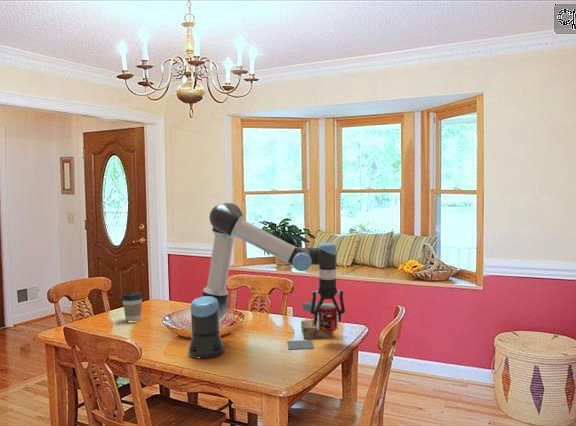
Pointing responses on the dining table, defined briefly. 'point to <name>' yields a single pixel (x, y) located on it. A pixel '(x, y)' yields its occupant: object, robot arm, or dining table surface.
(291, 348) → the rubber mat
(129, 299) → the coffee cup
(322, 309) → the canned food
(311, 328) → the walnut block
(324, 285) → the robot arm
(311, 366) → the dining table surface
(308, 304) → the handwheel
